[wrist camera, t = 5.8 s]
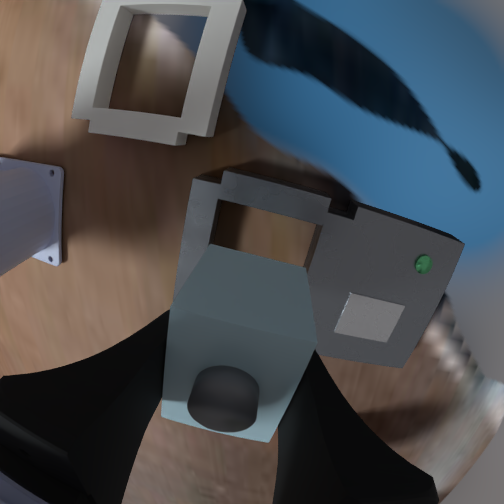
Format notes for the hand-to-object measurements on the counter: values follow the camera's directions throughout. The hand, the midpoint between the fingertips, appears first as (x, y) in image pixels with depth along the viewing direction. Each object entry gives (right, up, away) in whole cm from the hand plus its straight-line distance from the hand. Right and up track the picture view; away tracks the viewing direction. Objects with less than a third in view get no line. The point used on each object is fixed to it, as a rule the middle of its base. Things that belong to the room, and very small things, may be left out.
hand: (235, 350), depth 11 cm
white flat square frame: (-5, +15, +5) cm, 17 cm away
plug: (0, +1, +3) cm, 3 cm away
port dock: (+5, +2, +9) cm, 11 cm away
